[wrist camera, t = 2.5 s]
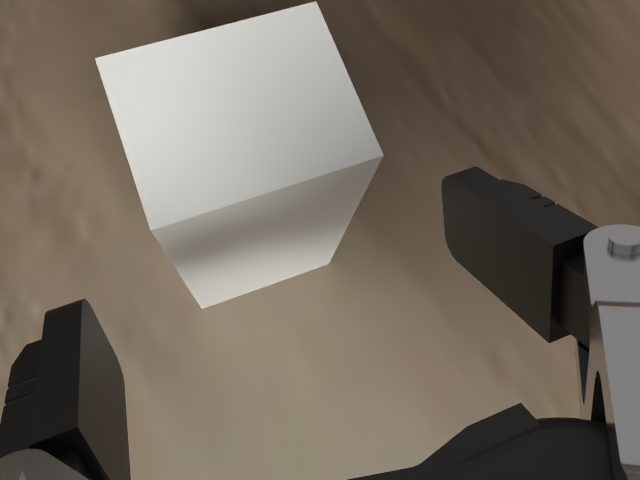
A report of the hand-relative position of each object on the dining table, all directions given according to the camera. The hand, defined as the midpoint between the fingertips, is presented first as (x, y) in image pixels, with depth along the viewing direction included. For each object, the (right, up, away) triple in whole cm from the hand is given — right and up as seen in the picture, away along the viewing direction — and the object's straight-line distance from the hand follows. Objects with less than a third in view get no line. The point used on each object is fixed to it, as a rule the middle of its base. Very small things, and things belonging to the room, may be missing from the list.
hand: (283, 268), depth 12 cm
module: (-2, +1, +9) cm, 9 cm away
